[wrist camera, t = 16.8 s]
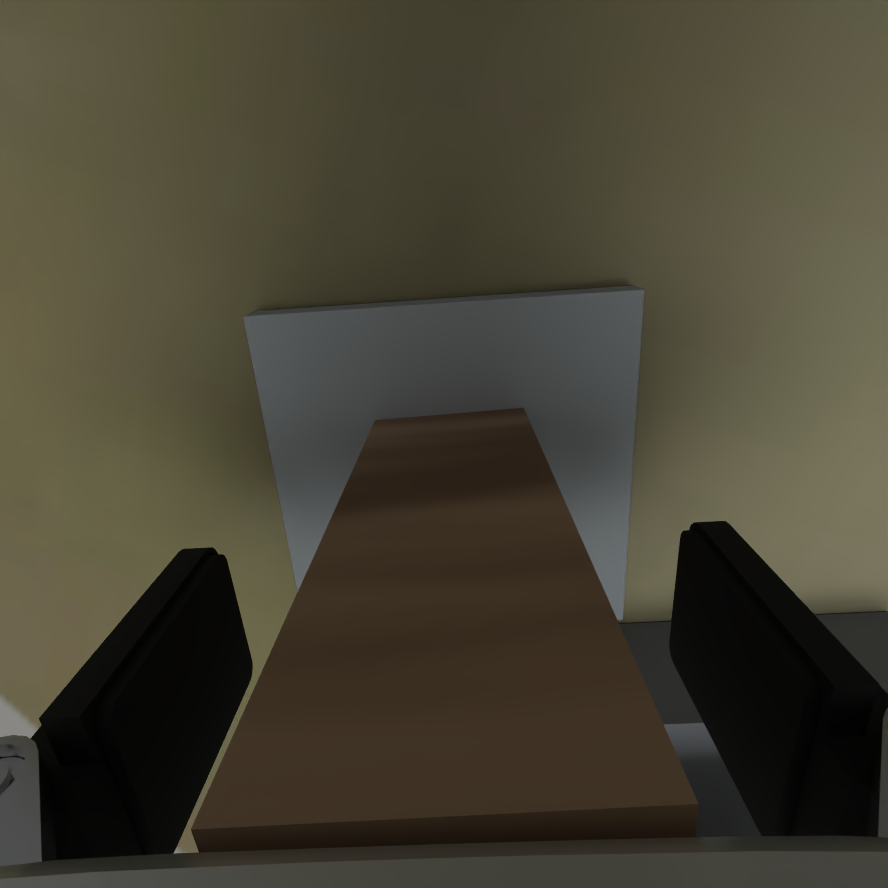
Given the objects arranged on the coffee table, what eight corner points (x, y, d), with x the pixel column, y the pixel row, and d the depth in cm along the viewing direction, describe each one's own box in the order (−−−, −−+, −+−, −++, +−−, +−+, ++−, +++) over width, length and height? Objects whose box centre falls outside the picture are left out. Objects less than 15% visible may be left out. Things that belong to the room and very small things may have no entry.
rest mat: (256, 310, 15) (242, 316, 14) (632, 285, 14) (644, 289, 13) (313, 613, 18) (306, 634, 17) (614, 599, 18) (622, 619, 17)
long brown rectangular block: (375, 420, 15) (117, 988, 3) (523, 407, 15) (771, 964, 3) (393, 549, 16) (253, 1262, 5) (529, 539, 16) (718, 1256, 5)
